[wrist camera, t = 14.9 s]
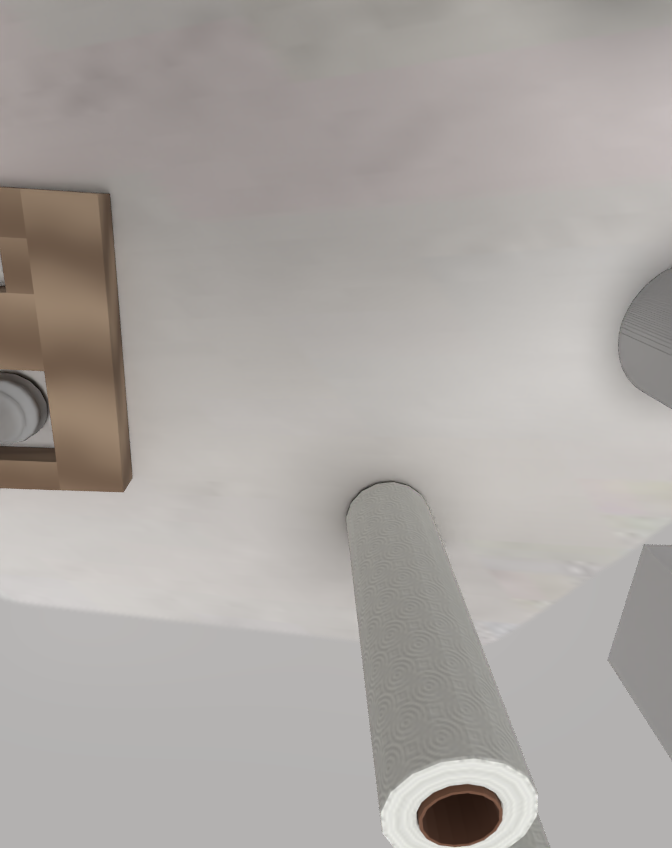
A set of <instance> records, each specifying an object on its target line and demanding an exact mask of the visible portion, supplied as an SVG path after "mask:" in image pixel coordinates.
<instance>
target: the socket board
mask: <svg viewBox="0 0 672 848" xmlns="http://www.w3.org/2000/svg"><path fill="white" fill-rule="evenodd" d="M0 253H1V260H2V266H3V273H4V280H5V286H0V369H10V370H31V371H44V372H45V380H46V387H47V395H48V402H49V410H50V417H51V425H52V432H53V439H54V447H55V448H30V447H3V446H0V488H11V489H41V490H72V491H102V492H124V491H125V489H126V488H127V486H128V484H129V483H130V481H131V479H132V467H131V454H130V441H129V429H128V416H127V403H126V391H125V378H124V366H123V353H122V340H121V328H120V315H119V302H118V290H117V277H116V265H115V252H114V239H113V227H112V214H111V201H110V194H104V193H89V192H74V191H59V190H44V189H29V188H14V187H0Z"/></svg>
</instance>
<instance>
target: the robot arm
mask: <svg viewBox="0 0 672 848" xmlns="http://www.w3.org/2000/svg"><path fill="white" fill-rule="evenodd" d="M608 661H609V663H610V664H611V666H612V668H613V669H614V671H615V672H616V674H617V675H618V677H619V679H620V680H621V682H622V683H623V685H624V686H625V688H626V690H627V691H628V693H629V694H630V695H631V697H632V699H633V700H634V702H635V704H636V705H637V706H638V708H639V710H640V711H641V713H642V714H643V716H644V717H645V719H646V721H647V722H648V724H649V726H650V727H651V729H652V730H653V732H654V733H655V735H656V736H657V738H658V740H659V741H660V743H661V744H662V746H663V747H664V749H665V750H666V752H667V754H668V755H669V757H670V758H671V760H672V545H649V544H644V546H643V549H642V552H641V555H640V558H639V561H638V565H637V568H636V571H635V574H634V577H633V581H632V584H631V587H630V590H629V593H628V597H627V600H626V603H625V606H624V609H623V612H622V616H621V619H620V622H619V625H618V628H617V632H616V635H615V638H614V641H613V644H612V647H611V650H610V654H609V657H608Z"/></svg>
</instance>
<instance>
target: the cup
mask: <svg viewBox="0 0 672 848" xmlns="http://www.w3.org/2000/svg"><path fill="white" fill-rule="evenodd" d="M618 347H619V349H618V351H619V358H620V362H621V365H622V368H623V371H624V372H625V374H626V376H627V377H628V378H629V380H630V381H631V382H632V384H634V386H635V387H637V388H638V389H639V390H641V391H642V392H644V393H646V394H647V395H649V396H651V397H652V398H654V399H656V400H657V401H659V402H661V403H662V404H664V405H666V406H667V407H669V408H671V409H672V268H670V269H668V270H666V271H665V272H663V273H661V274H659V275H658V276H657V277H655V278H654V280H652V281H650V282H649V284H647V285H646V286H645V287H644V288H643V289H642V291H640V293H639V294H638V295H637V296H636V297H635V299H634V301H633V303H631V305H630V307H629V308H628V310H627V312H626V315H625V317H624V320H623V323H622V326H621V329H620V332H619V342H618Z"/></svg>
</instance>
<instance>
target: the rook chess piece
mask: <svg viewBox="0 0 672 848" xmlns="http://www.w3.org/2000/svg"><path fill="white" fill-rule="evenodd" d="M46 418H47V405H46V402H45V400H44V398H43V396H42V394H41V392H40V391H39V390H38V389H37V388H36V387H35V386H34V385H33V384H32V383H31V382H30V381H29V380H26V379H24V378H22V377H20V376H18V375H16V374H8V373H0V444H13V443H17V442H20V441H24V440H27V439H28V438H29V437H30V436H32V435H34V434H35V433H37V432H38V431H39V430H40V429H41V428H43V425H44V423H45V421H46Z"/></svg>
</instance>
